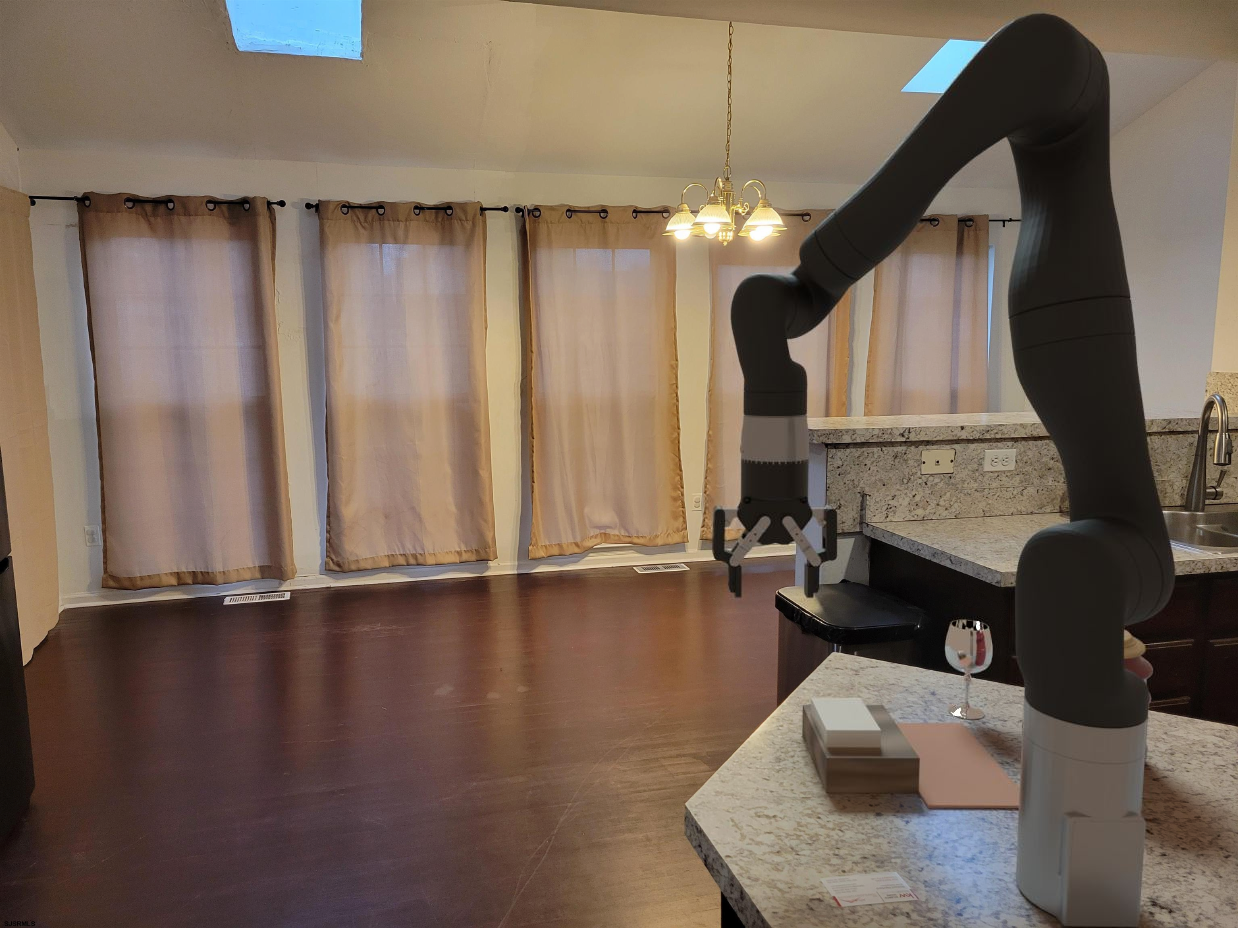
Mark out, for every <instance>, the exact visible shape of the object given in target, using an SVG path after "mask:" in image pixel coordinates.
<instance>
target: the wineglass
mask: <svg viewBox="0 0 1238 928" xmlns="http://www.w3.org/2000/svg"><path fill="white" fill-rule="evenodd" d="M991 635H992V634H991V630H990V627H989V625H988V624H986V623H984V622H981V621H979V620H978V621H977V620H971V619H956V620H952V621H951V622H950V624H949V627H948V631H947V633H946V637H945V638H946V639H945V642H944V643H945V644H944V645H945V646H944V651H945V657H946V660H947V662H948V663H949V665H950V666H952V667H953V668H954V669H955V670H957V671H959V672H962V673H964V675H963V679H962V680H963V685H964V701H963V704H954V705H951V706H949V707H948V709H947V711H948V712H949V714H950V715H952V716H955V717H957V718H959V719H960V718H961V719H965V720H980V719H983V718H984V717H985V712H984V711H983V710H982V709H980V708H978V707H975V706H971V705H970V701H969V695H970V694H969V693H970V687H971V684H972V675H971V674H977V673H981V672H982V671H984V670H986V669H987V668H988V667H989V666H990V664H991V663H992V658H993V643H992V636H991Z"/></svg>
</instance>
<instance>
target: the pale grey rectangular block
mask: <svg viewBox="0 0 1238 928" xmlns="http://www.w3.org/2000/svg"><path fill="white" fill-rule="evenodd" d="M810 705H811V715H812V717H813V720H814V722H815V724H816V726H817V728H818V730H819V733H820V735H821V737H822V739H823V741H824V743H825V745H826V747H881V729H880V728H879V726H878V725H877V723H876V721H875V720H874V718H873V717H872V715H871V714H870V712H869V710H868V709H867V707H866V706H865V705H866V704H865V702H864V701H863V699H862V698H861V697H810Z"/></svg>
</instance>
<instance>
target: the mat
mask: <svg viewBox="0 0 1238 928" xmlns="http://www.w3.org/2000/svg"><path fill="white" fill-rule="evenodd" d="M895 723H896V724H897V726H898V727H899V729H900V730H901V732H902V733H903V734H904V736H905V737H906V739H907V740H908V742H909V743H910V745H911V746H912V748H913V749H914V750H915V752H916V753H917V755H918V756H919V758H920V769H919V793H918V795H920V797H921V800H923V802H924V803H925V804H924V805H926V807H927V808H928V809H1019V792H1020V786H1018V785H1017V784H1016V782H1014V780H1012V778H1011V777H1010V776H1009V775H1008V773H1007V772H1006V771H1005V770H1004V769H1003V768H1002V767H1001V765H1000V764H999V763H998V762H997V761H996V759H994V757H993V756H992V755H991V754H990V753H989V752H988V751H987V750H986V749H985V747H984V746H983V745H982V744H981V742H980V741H979V740H978V739H977V738H976V737H975V735H974V734H972V732H971V731H970V730H969V729H968V728H967V727H966V726H965V724H964V723H963V722H895Z"/></svg>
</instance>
